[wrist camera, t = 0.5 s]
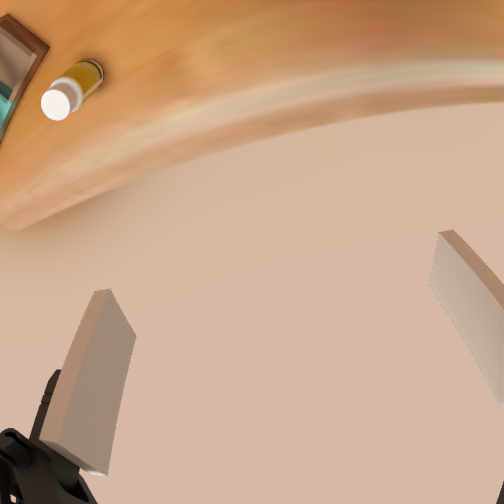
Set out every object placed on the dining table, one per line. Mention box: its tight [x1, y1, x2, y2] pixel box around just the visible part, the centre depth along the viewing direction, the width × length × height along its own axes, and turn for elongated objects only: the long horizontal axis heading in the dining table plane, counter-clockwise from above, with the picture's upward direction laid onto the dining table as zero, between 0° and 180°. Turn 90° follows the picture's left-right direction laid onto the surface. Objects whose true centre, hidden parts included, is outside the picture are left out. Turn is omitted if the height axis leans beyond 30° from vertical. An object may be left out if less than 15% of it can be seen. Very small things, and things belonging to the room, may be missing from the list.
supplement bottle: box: [41, 60, 103, 120], centre depth 29 cm, size 5×5×8 cm
